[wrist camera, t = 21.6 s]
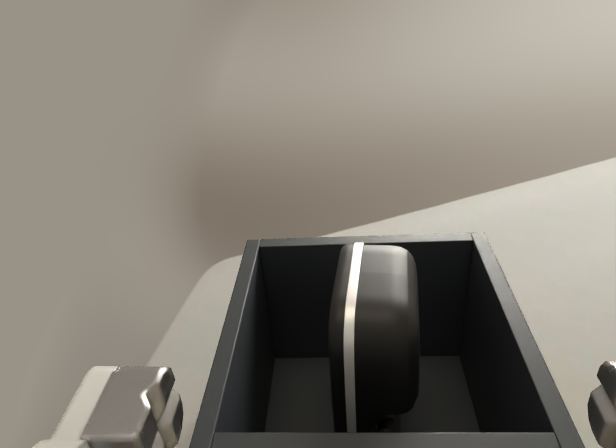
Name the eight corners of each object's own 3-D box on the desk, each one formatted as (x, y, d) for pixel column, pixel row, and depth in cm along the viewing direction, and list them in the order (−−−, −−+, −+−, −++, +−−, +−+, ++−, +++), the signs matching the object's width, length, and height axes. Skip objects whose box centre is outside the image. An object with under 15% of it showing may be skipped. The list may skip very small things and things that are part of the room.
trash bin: (229, 583, 23) (187, 451, 17) (266, 357, 34) (247, 239, 29) (537, 590, 22) (588, 453, 16) (467, 355, 33) (484, 231, 28)
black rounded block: (413, 502, 24) (426, 330, 18) (336, 493, 25) (324, 324, 19) (411, 388, 30) (420, 229, 24) (349, 383, 31) (342, 227, 25)
